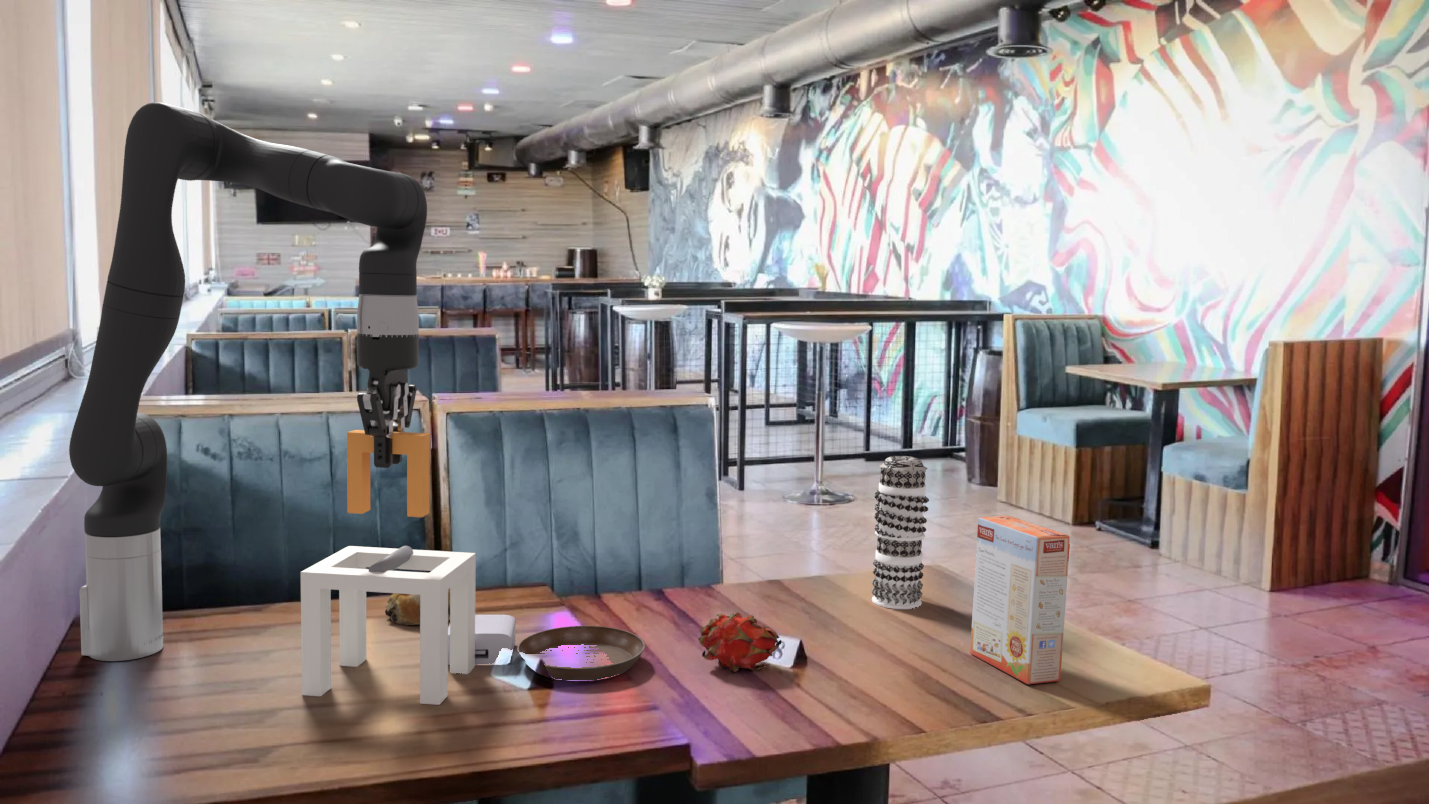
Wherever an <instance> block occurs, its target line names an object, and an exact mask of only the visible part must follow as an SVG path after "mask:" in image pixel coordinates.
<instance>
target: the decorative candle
mask: <svg viewBox="0 0 1429 804" xmlns="http://www.w3.org/2000/svg"><path fill="white" fill-rule="evenodd" d="M878 466H879V468H880V477H879V478H880V480H879V483H878V489H877V491H876V492H875V493H874V499H876V501H877V503H875V505H874V510H875V514H874V516H873V518H874V520H875V522H877V523H876V524H875V525H874V534H875V536H877V542H876V549H875V557H874V558H875V559H874V560H873V562H872V565H873V566H874V569H873V571H872V574H873V575H874V576H875V577H874V578H873V579H872V580H871V584H872V586H873V588H872V589H871V593H872V595H873V596H872V597H871V601H872V603H873V604H874V605H877V606H879V607H883V608H886V609H894V610H911V609H912V608H913V609H916V608H915V607H917V608H920V607H921V605H922V600H921V599H922V596H923V592H922V590H923V587H924V583H922V581H921V579H923V578H924V573H923V572H922V570H923V569H924V568H925V564H923V551H922V548H923V542H922V540H924V538H926V534H925V532H926V531H927V528H926V527H925V526H924V524H926V523H927V522H928V521H927V518H926V517H924V514H925V513H926V512H928V511H929V507H928V506H927V505H924V504H927V503H928V502H929V501H930V499H929V498H928V497H927V496H926V494H927V493H926V492H927V485H926V472H927V471H926V470H928V469H929V468H928V467H926V466H925V465H924V463H923V461H922V460H921V459H920V458H917V457H916V456H915V457H914V456H910V455H909V456H907V455H892V456H889V457H887V458H885V460H884V462H883V463H882V464H878ZM919 606H920V607H919Z"/></svg>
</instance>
